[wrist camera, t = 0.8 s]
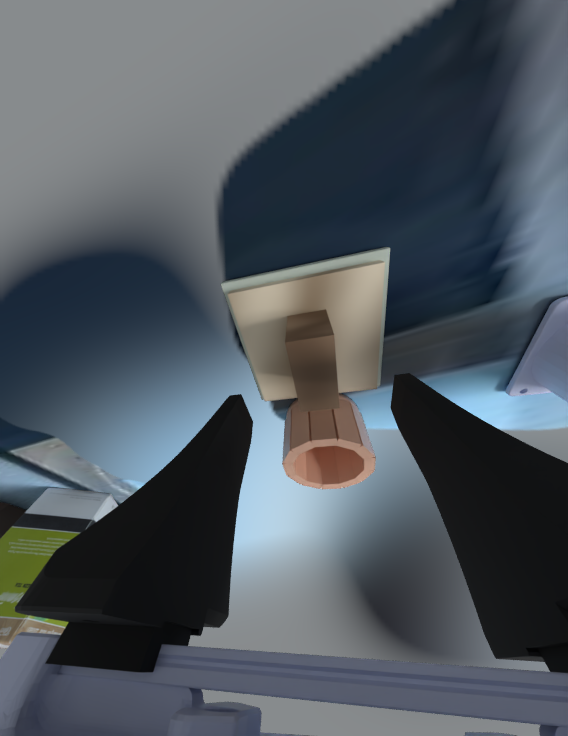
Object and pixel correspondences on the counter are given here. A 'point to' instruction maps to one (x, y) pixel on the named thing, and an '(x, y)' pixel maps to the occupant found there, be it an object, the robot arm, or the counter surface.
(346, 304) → the lid
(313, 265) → the mat
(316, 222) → the counter surface
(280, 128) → the counter surface
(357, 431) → the cup
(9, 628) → the tea box
